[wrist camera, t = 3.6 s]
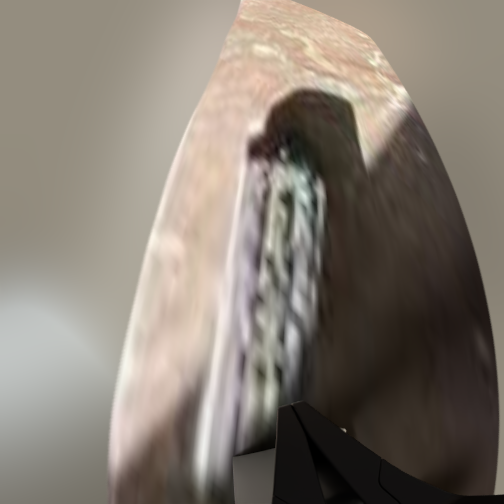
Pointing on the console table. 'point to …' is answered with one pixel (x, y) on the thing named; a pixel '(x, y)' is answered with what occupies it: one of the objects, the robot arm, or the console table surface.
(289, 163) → the console table surface
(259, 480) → the white bracket
